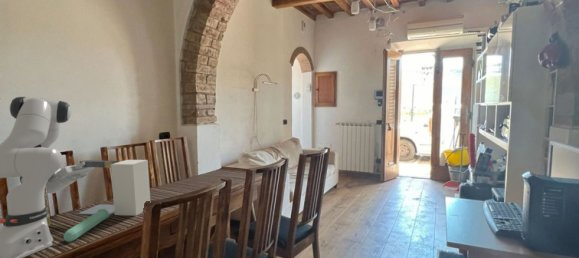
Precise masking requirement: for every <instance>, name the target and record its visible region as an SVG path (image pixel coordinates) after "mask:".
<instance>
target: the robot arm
mask: <svg viewBox="0 0 579 258" xmlns="http://www.w3.org/2000/svg"><path fill="white" fill-rule="evenodd" d="M9 112H10V115H11V116H12V117H13V118H14V119H15V121H14V123H13V124H14V125H13V127H12V129H11V132H10V134H9V136H7V137H6V139H5V140H3V142H1V143H0V179H7V178H17V177H18V178H19V182H20V184H19V185H17V186H16V187H14V188H12V189H10V190H8V192H7V195H6V197H5V198H6V207H7V214H6V215H5V217H0V224H3V226H2V227H1V228H0V258H25V257H29V256H30V255H32V254H35V253H37V252H40V251H42V250H45V249H47V248H49V247H51V246H53V241H54V238H53V236H52V234H51V231H50V228H49V226H48V224H47V219H46V216H47V209H46V207H45V200H44V190H45V185H46V183H47V190H48V194H51V195H52V194H56V193H58V192H61V191H62V190H64V189H66V188H67V187H68V186H69V185H71V184H73V183H75V182H77V181H78V180H79V179H82V178H84V177H85V176H87V175H88V174H89V173H90V172H92V171H94V170H95V168H96V167H83V166H85V165H86V162H82V163H80V162H79V163H78V164H74V165H67V166H65V167H63V168H62V166H63V161H64V158H63V155H62V153H61V151H59V150H58V149H57V148H55V147H50V146H51V145H54V144H53V143H55V142H56V141H57V140H58V138H59V135H60V132H61V131H60V130H61V129H60V128H61V127H60V126H61V125H60V124H63V123H66V122H68V121H69V119H70V118H71V114H72V108H71V105H70V104H69V103H68V102H66V101H62V100H60V101H59V100H54V99H49V98H43V97H42V98H41V97H26V96H17V97H15V98H13V99H12V100H11V102H10V104H9Z"/></svg>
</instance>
